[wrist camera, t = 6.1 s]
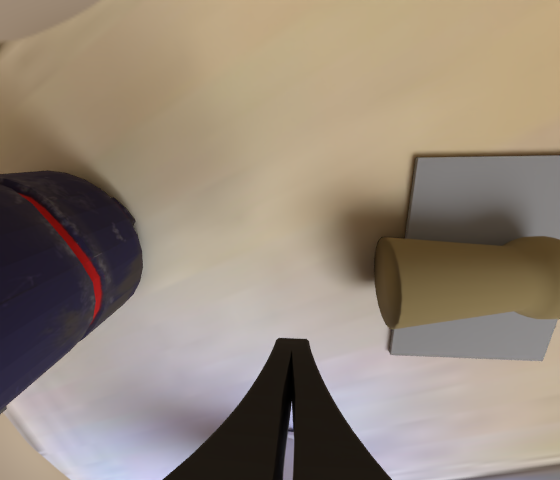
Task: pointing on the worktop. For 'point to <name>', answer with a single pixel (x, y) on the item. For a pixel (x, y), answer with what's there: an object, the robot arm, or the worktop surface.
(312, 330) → the worktop surface
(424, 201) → the mat
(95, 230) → the grenade
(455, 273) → the cork
